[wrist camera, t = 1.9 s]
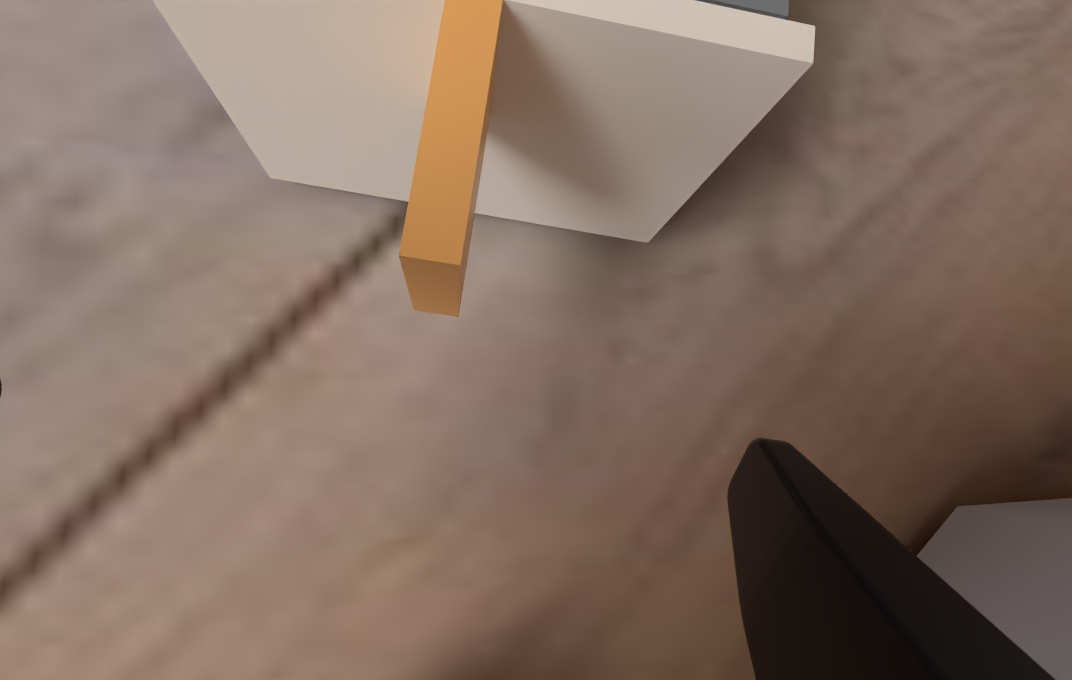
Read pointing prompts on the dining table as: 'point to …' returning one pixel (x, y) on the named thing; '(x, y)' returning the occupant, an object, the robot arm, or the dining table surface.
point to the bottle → (1014, 572)
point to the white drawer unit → (494, 107)
